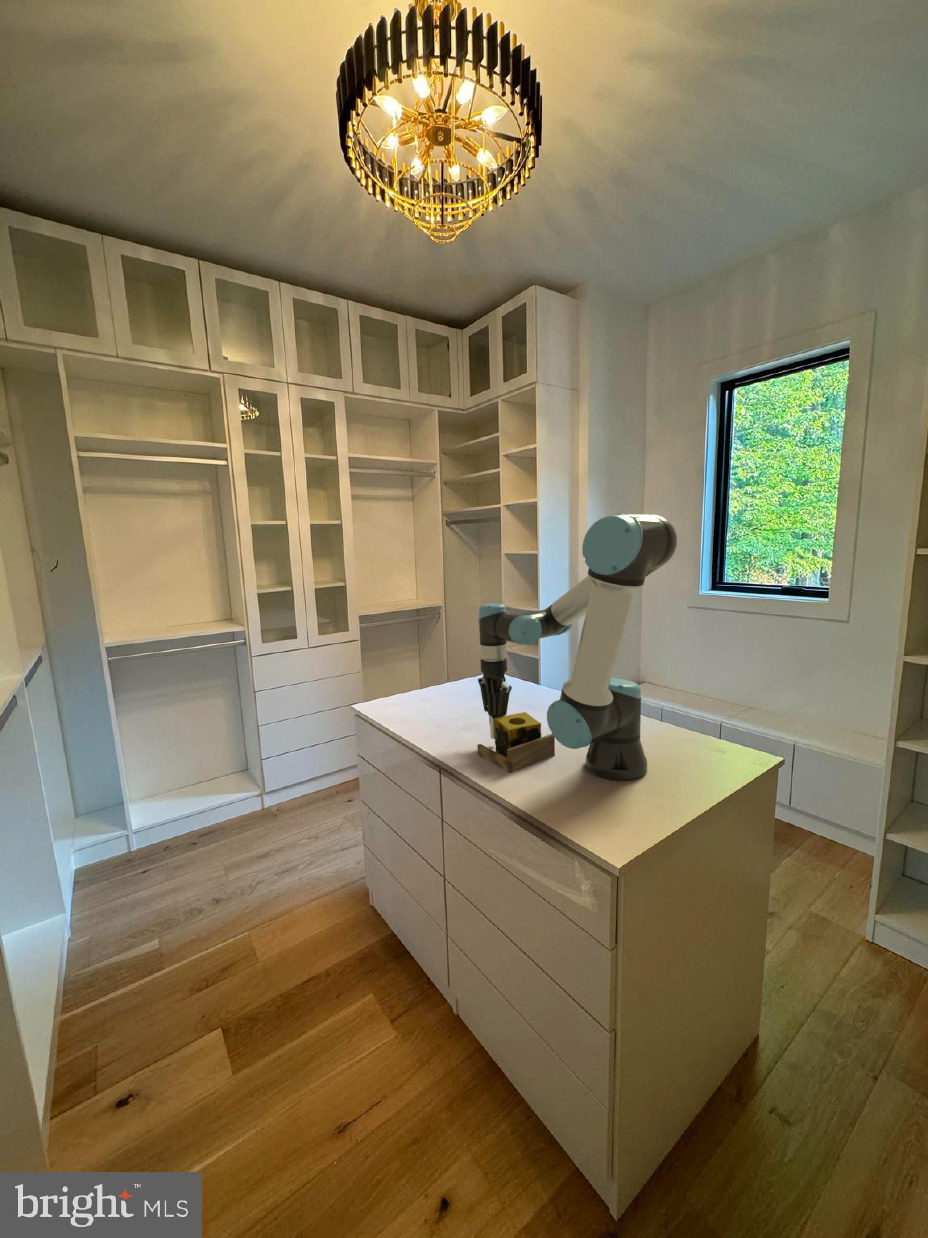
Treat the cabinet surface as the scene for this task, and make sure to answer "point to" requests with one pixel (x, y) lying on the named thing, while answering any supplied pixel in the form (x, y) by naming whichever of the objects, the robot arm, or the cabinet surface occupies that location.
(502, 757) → the dock
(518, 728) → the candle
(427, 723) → the cabinet surface
